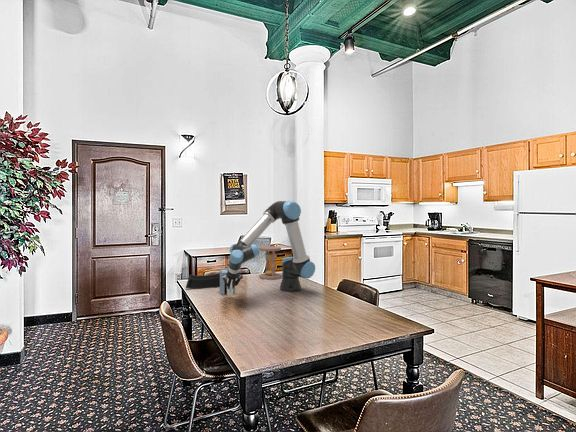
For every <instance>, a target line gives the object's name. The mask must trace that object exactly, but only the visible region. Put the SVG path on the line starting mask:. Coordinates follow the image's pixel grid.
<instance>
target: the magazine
mask: <svg viewBox="0 0 576 432" xmlns="http://www.w3.org/2000/svg"><path fill="white" fill-rule="evenodd" d="M185 288H186V289H198V290H199V289H200V290H202V289H213V288H220V272H217V273H214V274H206V275H194V274H190V273H189V275H188V278H187V282H186V285H185Z"/></svg>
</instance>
